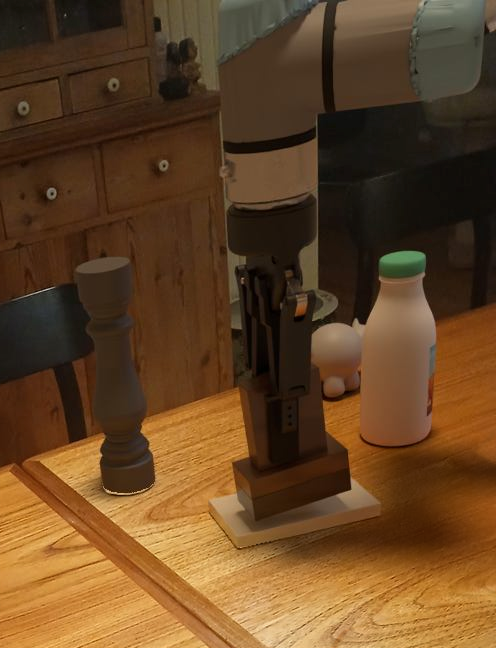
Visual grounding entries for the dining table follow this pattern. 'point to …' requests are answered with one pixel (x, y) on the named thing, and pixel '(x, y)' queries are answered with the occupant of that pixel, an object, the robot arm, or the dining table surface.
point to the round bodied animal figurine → (338, 356)
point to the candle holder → (116, 375)
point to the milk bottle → (398, 356)
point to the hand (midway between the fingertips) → (277, 452)
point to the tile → (293, 516)
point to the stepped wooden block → (292, 475)
